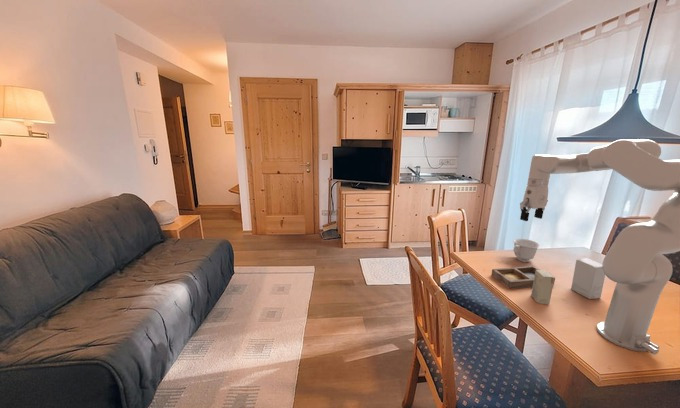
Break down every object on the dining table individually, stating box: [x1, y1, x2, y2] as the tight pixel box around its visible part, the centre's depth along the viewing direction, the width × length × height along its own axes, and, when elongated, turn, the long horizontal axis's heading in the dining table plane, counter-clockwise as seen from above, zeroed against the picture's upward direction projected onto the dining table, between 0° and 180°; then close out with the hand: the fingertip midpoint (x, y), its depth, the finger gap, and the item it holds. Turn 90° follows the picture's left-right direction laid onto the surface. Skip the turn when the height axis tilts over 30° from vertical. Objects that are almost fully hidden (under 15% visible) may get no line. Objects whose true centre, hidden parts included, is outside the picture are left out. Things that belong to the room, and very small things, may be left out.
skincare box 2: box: [570, 257, 606, 300], centre depth 113 cm, size 8×6×15 cm
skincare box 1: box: [530, 269, 556, 305], centre depth 109 cm, size 6×4×12 cm
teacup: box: [512, 238, 541, 263], centre depth 144 cm, size 12×15×10 cm
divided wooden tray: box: [491, 265, 556, 290], centre depth 126 cm, size 12×23×3 cm, turn 98°
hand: (531, 219), depth 122 cm, fingers open, 9 cm apart
